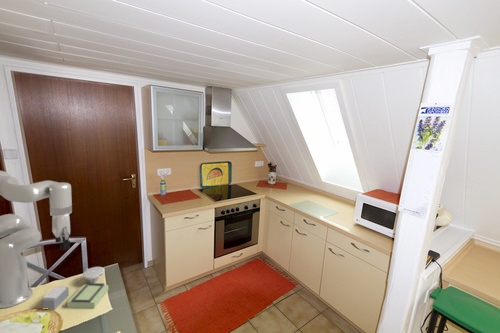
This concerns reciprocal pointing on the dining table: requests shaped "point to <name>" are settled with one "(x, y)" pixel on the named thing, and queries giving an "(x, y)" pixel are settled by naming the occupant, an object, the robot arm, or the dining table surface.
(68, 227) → the robot arm
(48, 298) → the grey small block
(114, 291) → the dining table surface
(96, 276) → the showerhead
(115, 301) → the dining table surface
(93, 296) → the shallow green tray
